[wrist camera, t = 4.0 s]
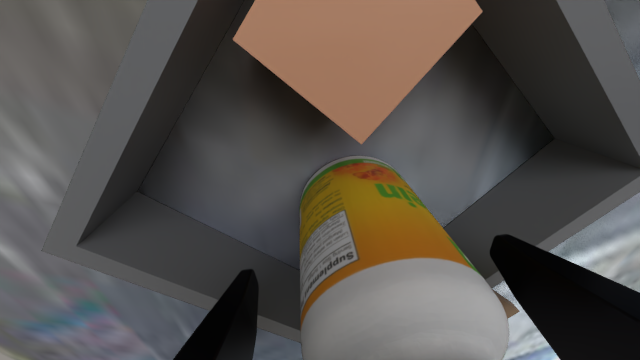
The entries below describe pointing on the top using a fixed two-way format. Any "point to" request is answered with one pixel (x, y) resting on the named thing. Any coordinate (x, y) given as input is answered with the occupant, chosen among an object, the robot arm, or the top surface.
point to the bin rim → (466, 230)
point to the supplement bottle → (387, 274)
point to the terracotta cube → (353, 50)
